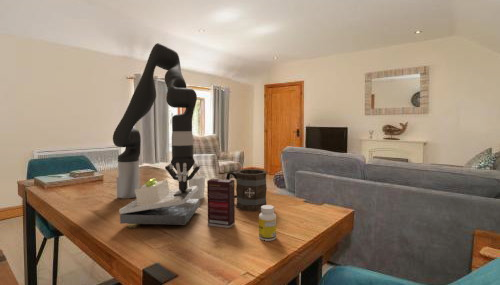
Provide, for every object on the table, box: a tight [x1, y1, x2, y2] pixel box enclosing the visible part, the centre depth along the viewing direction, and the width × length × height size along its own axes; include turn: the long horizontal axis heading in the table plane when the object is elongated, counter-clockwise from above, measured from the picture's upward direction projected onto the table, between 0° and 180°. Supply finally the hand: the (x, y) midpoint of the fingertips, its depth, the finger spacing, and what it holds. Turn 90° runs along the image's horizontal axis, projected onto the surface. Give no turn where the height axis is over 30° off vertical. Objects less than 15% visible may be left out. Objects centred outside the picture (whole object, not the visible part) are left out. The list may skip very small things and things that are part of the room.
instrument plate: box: [118, 177, 198, 215], centre depth 100 cm, size 22×20×8 cm
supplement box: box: [206, 177, 236, 229], centre depth 95 cm, size 9×5×16 cm, turn 71°
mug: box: [225, 168, 268, 212], centre depth 117 cm, size 20×14×15 cm
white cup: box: [188, 174, 206, 200], centre depth 130 cm, size 8×8×10 cm
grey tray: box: [119, 198, 201, 229], centre depth 100 cm, size 22×20×5 cm
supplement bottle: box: [258, 204, 277, 242], centre depth 84 cm, size 5×5×10 cm
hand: (183, 191), depth 99 cm, fingers closed
